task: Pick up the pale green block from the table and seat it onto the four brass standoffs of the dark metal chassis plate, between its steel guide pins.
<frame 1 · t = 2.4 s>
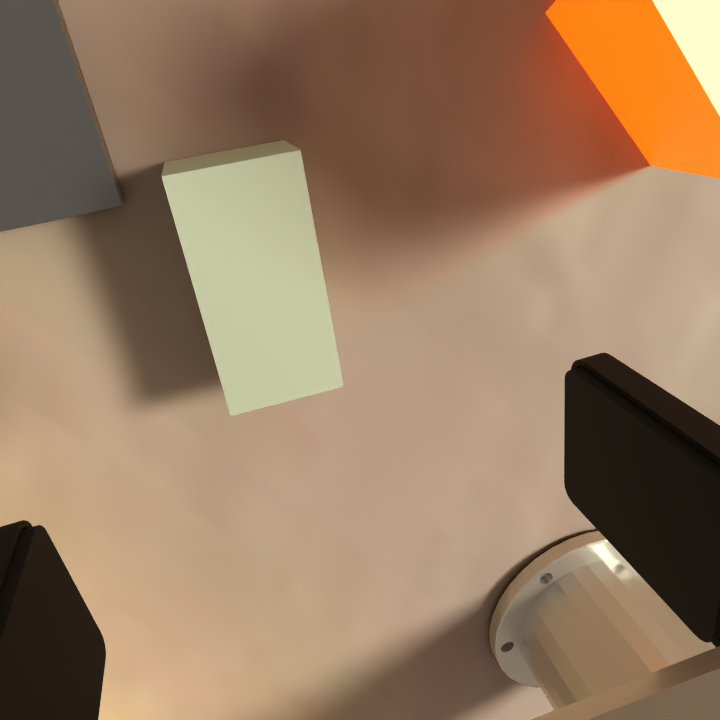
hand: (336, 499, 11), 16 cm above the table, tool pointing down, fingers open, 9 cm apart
pale green block: (251, 263, 25), on the table
orange juice: (663, 24, 25), on the table
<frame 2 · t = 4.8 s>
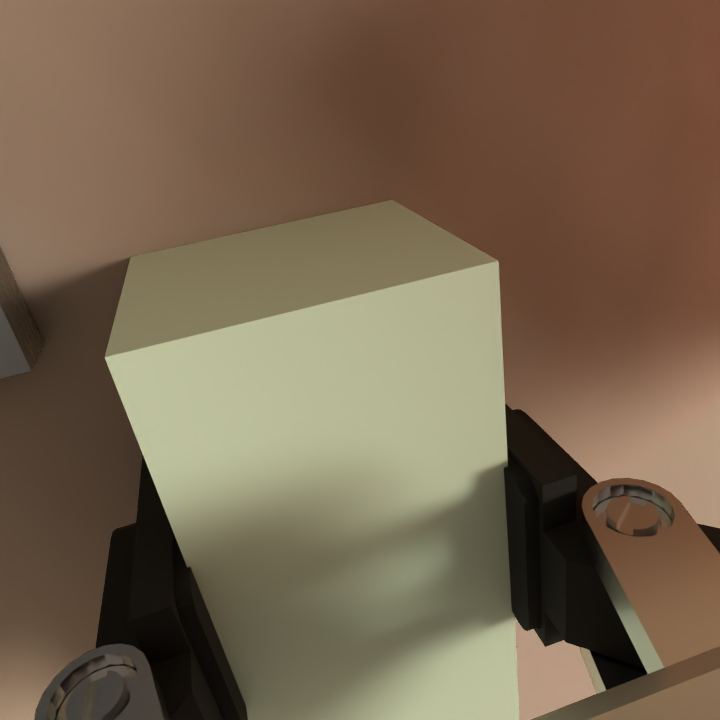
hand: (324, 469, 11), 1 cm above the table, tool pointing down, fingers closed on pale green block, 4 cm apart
pale green block: (315, 443, 12), on the table, touching gripper
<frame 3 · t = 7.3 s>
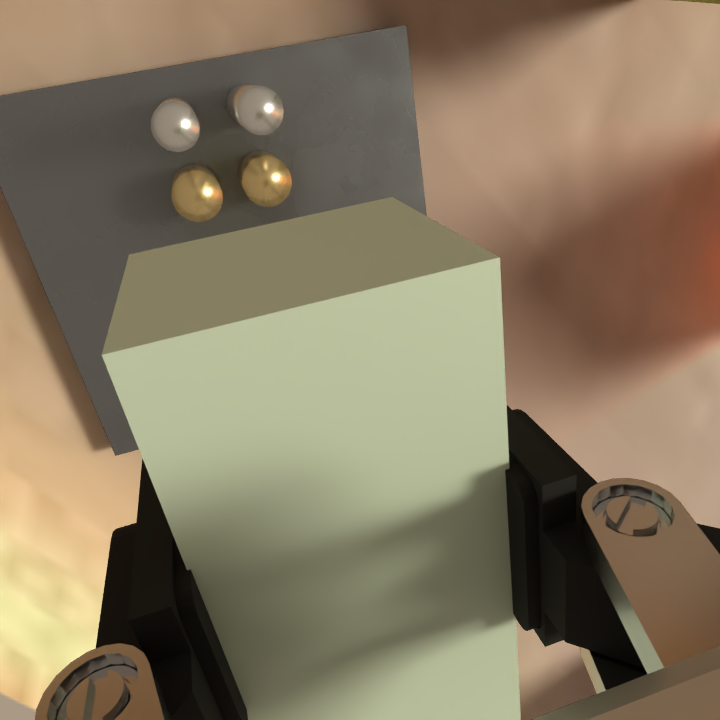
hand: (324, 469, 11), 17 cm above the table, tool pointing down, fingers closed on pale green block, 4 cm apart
pale green block: (315, 442, 12), point 16 cm above the table, touching gripper
chassis: (246, 252, 26), on the table
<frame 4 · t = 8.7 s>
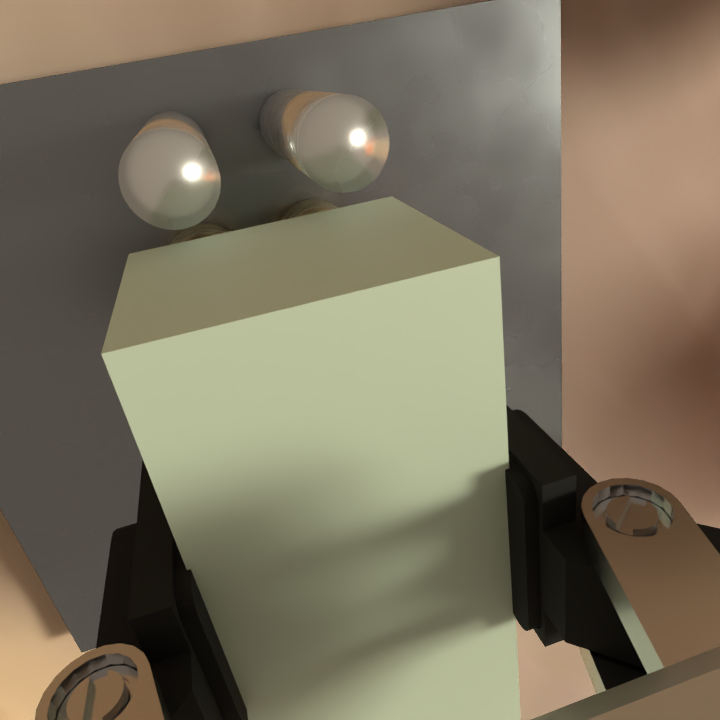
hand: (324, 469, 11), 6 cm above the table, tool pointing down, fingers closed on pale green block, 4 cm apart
pale green block: (315, 441, 12), point 5 cm above the table, touching gripper
chassis: (283, 350, 17), on the table
when the fingers open (4 cm above the table, at t = 9.7 s): pale green block stays where it is, resting on chassis.
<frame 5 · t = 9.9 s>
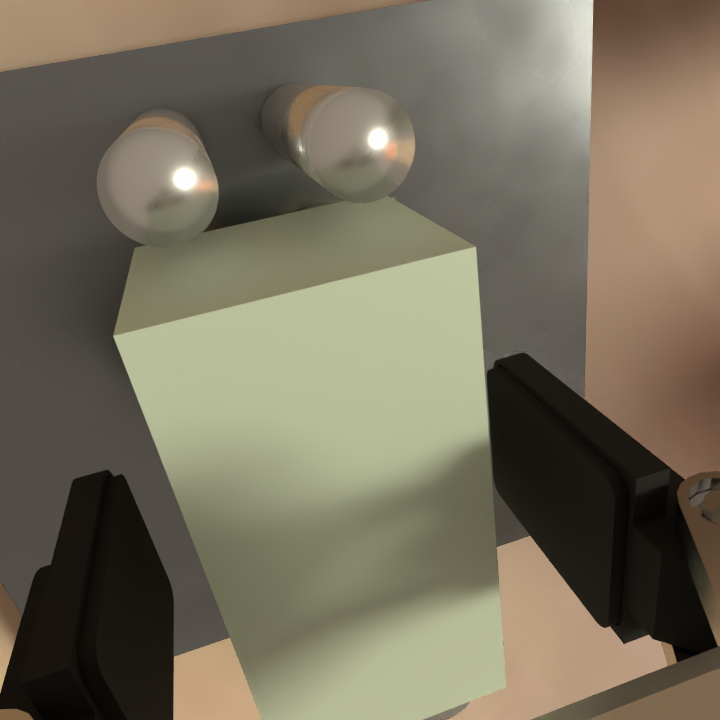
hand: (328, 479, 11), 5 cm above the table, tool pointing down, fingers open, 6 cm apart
pale green block: (311, 426, 13), point 3 cm above the table, touching chassis
chassis: (286, 367, 15), on the table
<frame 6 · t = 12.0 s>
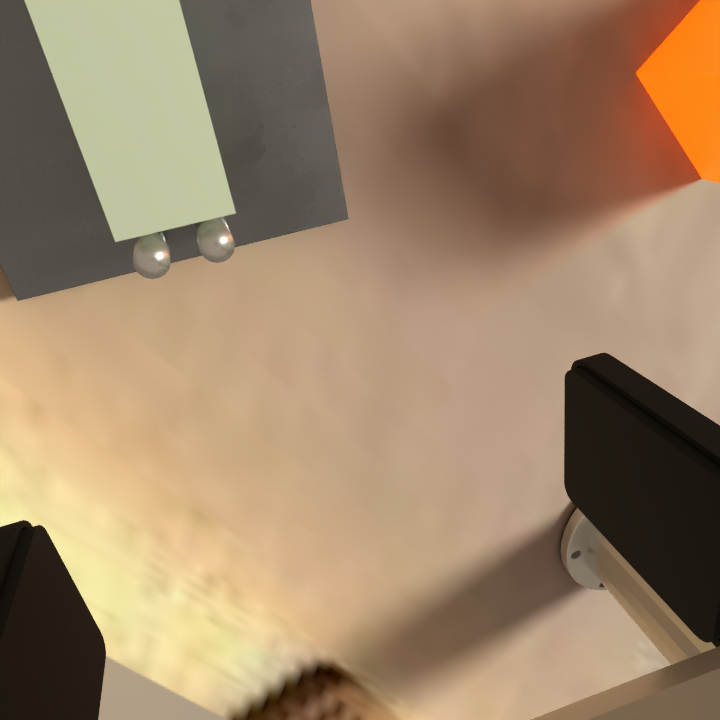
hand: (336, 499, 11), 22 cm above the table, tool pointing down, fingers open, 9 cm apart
pale green block: (138, 92, 24), point 3 cm above the table, touching chassis
orange juice: (715, 77, 34), on the table
chassis: (139, 89, 26), on the table
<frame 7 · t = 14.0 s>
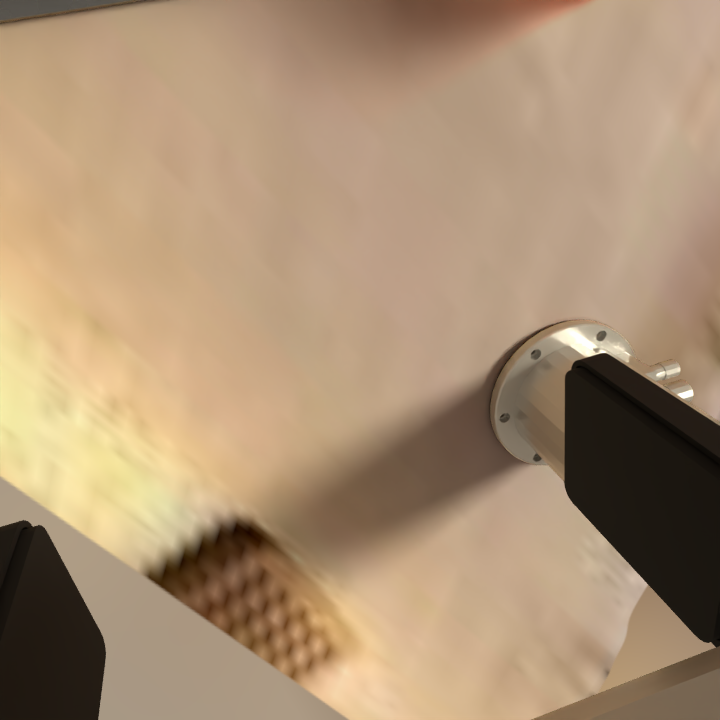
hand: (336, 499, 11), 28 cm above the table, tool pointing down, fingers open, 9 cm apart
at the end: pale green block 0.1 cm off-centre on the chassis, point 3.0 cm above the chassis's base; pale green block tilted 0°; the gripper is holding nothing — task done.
